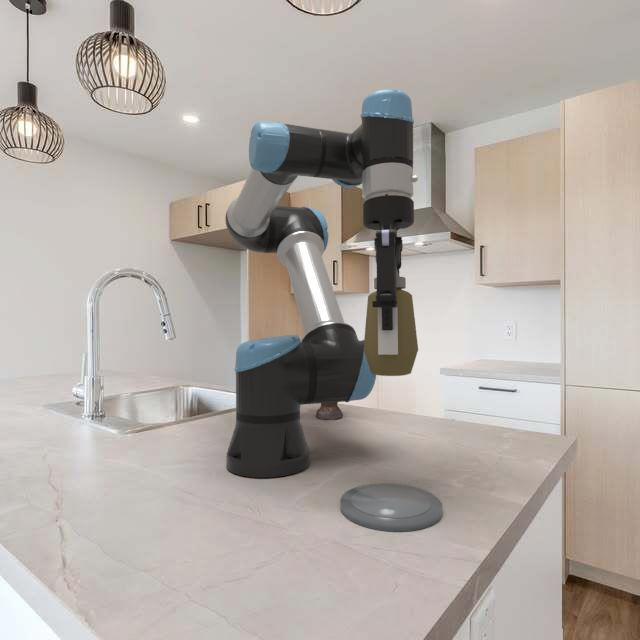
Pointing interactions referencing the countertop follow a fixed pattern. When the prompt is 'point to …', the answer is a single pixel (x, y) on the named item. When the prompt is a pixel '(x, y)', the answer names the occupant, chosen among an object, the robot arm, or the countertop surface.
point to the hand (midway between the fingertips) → (390, 352)
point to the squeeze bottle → (406, 335)
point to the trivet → (391, 507)
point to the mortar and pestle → (329, 411)
